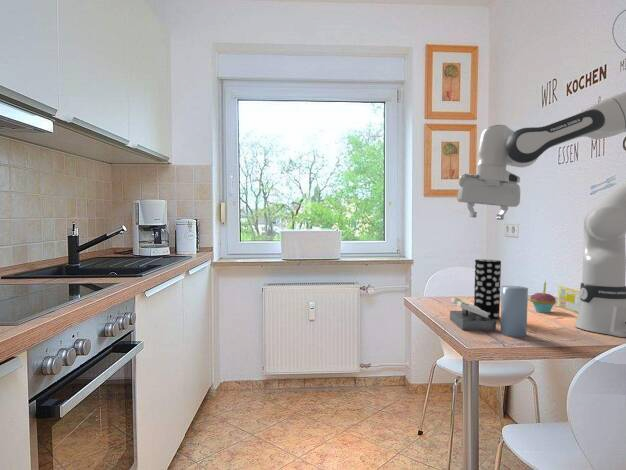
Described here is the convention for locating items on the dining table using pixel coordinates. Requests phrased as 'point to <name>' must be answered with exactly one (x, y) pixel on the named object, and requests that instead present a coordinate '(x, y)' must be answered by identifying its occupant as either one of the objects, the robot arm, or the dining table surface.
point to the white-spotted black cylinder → (488, 286)
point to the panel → (472, 321)
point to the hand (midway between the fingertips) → (486, 218)
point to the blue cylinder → (514, 311)
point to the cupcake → (543, 301)
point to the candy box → (569, 299)
